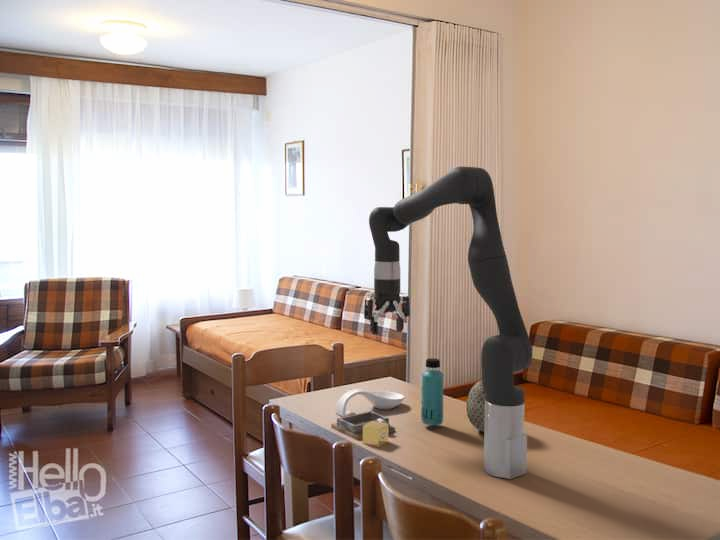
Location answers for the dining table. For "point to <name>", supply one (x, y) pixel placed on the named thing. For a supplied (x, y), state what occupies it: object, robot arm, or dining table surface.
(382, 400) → the spoon rest
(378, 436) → the yellow cube
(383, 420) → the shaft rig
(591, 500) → the dining table surface
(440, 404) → the beverage bottle
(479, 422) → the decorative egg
